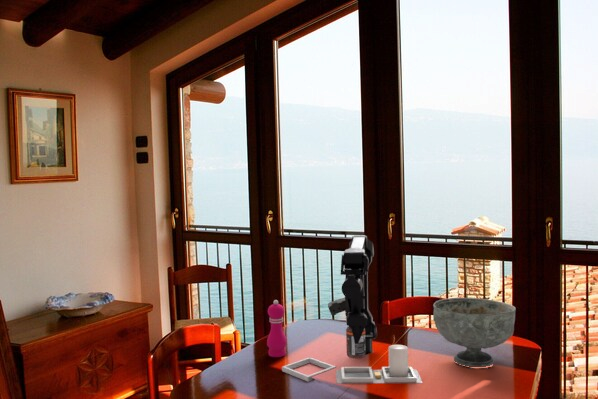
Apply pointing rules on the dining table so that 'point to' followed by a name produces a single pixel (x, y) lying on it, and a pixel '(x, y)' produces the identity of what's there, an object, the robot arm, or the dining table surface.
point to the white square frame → (289, 367)
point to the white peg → (398, 361)
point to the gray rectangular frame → (374, 375)
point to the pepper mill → (276, 331)
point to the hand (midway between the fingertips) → (355, 339)
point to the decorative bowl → (474, 326)
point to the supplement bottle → (355, 345)
